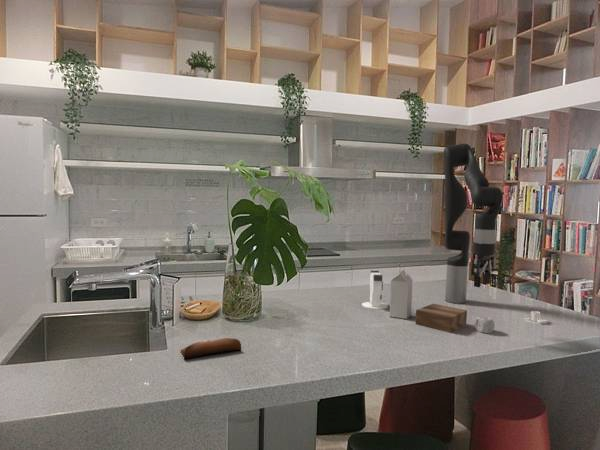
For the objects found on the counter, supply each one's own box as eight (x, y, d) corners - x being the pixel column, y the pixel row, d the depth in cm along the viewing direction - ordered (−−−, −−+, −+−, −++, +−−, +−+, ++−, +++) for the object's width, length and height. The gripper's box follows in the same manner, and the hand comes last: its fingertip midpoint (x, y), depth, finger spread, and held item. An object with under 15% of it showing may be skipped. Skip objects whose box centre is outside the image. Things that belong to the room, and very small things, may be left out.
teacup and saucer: (550, 326, 175) (551, 316, 175) (528, 324, 177) (529, 314, 177) (543, 319, 184) (543, 310, 184) (522, 318, 186) (522, 308, 185)
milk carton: (389, 316, 182) (391, 270, 180) (394, 312, 188) (396, 268, 187) (406, 319, 179) (408, 272, 177) (411, 315, 185) (413, 269, 183)
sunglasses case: (232, 342, 148) (236, 328, 145) (238, 359, 143) (242, 345, 140) (177, 351, 139) (180, 336, 136) (182, 369, 134) (185, 354, 131)
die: (482, 333, 163) (483, 320, 162) (474, 329, 168) (474, 316, 167) (494, 332, 164) (495, 319, 164) (485, 328, 169) (486, 315, 169)
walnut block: (432, 318, 183) (433, 303, 182) (466, 325, 173) (466, 310, 173) (415, 325, 173) (416, 309, 172) (450, 333, 163) (451, 317, 163)
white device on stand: (390, 309, 192) (391, 275, 191) (363, 309, 193) (364, 274, 191) (385, 302, 204) (386, 270, 203) (360, 302, 205) (361, 269, 203)
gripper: (482, 239, 171) (480, 281, 173) (465, 241, 161) (463, 286, 163) (502, 241, 166) (499, 284, 167) (486, 243, 156) (484, 289, 157)
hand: (482, 285), depth 165 cm, fingers open, 8 cm apart
